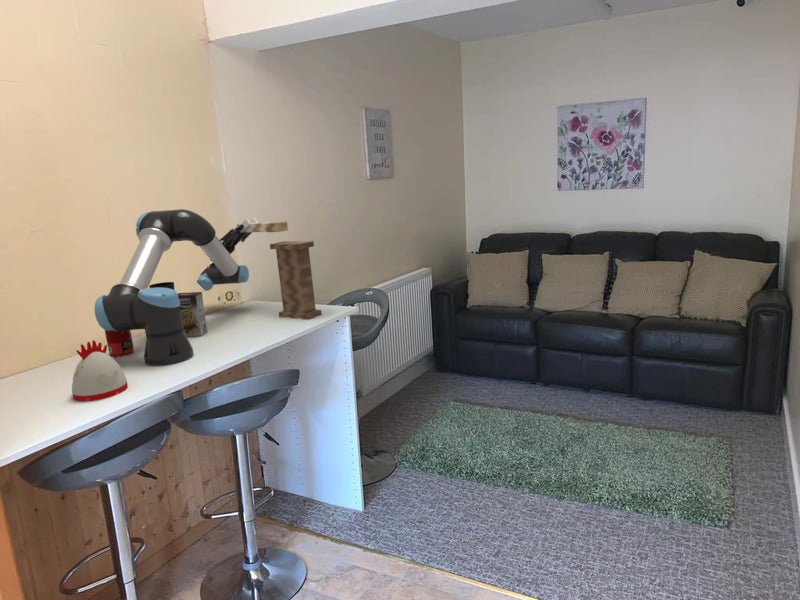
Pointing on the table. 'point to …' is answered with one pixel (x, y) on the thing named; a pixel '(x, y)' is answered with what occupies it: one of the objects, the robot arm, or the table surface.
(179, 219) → the robot arm
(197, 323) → the coffee box
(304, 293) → the pedestal
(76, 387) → the kitchen timer
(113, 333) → the canned food
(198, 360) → the table surface
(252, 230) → the handle
